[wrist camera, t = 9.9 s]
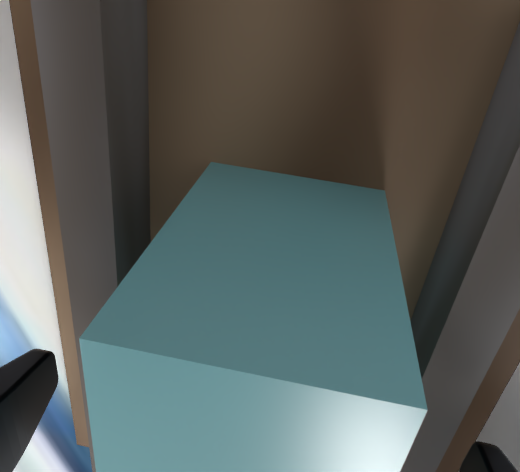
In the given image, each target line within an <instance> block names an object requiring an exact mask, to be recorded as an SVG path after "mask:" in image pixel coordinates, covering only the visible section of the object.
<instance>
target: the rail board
mask: <svg viewBox="0 0 520 472" xmlns="http://www.w3.org/2000/svg"><path fill="white" fill-rule="evenodd" d="M9 3H10V9H11V16H12V22H13V29H14V35H15V42H16V48H17V55H18V61H19V68H20V75H21V81H22V88H23V94H24V101H25V107H26V114H27V120H28V127H29V133H30V140H31V146H32V153H33V159H34V166H35V172H36V179H37V186H38V192H39V199H40V205H41V212H42V218H43V225H44V231H45V238H46V244H47V251H48V257H49V264H50V270H51V277H52V283H53V290H54V297H55V303H56V310H57V316H58V323H59V329H60V336H61V342H62V349H63V355H64V362H65V368H66V375H67V381H68V388H69V394H70V401H71V408H72V414H73V421H74V427H75V434H76V440H77V445H82V446H86V447H89V448H90V456H91V464H92V471H93V472H96V468H95V460H94V452H93V444H92V436H91V428H90V420H89V413H88V405H87V397H86V389H85V381H84V373H83V365H82V357H81V350H80V342H79V338H80V337H81V335H82V334H83V333H84V331H85V330H86V328H87V327H88V326H89V324H90V323H91V322H92V320H93V319H94V318H95V316H96V315H97V314H98V312H99V311H100V310H101V308H102V307H103V306H104V304H105V303H106V302H107V300H108V299H109V298H110V296H111V295H112V294H113V292H114V291H115V290H116V288H117V287H118V286H119V284H120V283H121V282H122V280H123V279H124V278H125V276H126V275H127V274H128V272H129V271H130V270H131V268H132V267H133V266H134V264H135V263H136V262H137V260H138V259H139V258H140V256H141V255H142V254H143V252H144V251H145V250H146V248H147V247H148V246H149V244H150V243H151V242H152V240H153V239H154V238H155V236H156V235H157V234H158V232H159V231H160V230H161V228H162V227H163V225H164V224H165V223H166V221H167V220H168V219H169V217H170V216H171V215H172V213H173V212H174V211H175V209H176V208H177V207H178V205H179V204H180V203H181V201H182V200H183V199H184V197H185V196H186V195H187V193H188V192H189V191H190V189H191V188H192V187H193V185H194V184H195V183H196V181H197V180H198V179H199V177H200V176H201V175H202V173H203V172H204V171H205V169H206V168H207V167H208V165H209V164H210V163H211V162H215V163H221V164H227V165H233V166H239V167H245V168H251V169H257V170H263V171H269V172H275V173H281V174H287V175H294V176H300V177H306V178H312V179H318V180H324V181H330V182H336V183H342V184H348V185H354V186H360V187H366V188H372V189H378V190H384V191H385V194H386V199H387V204H388V209H389V214H390V219H391V225H392V230H393V235H394V240H395V245H396V250H397V255H398V260H399V266H400V271H401V276H402V281H403V286H404V291H405V296H406V302H407V307H408V312H409V317H410V322H411V327H412V332H413V338H414V343H415V348H416V353H417V358H418V363H419V368H420V374H421V379H422V384H423V389H424V394H425V399H426V404H427V413H426V415H425V417H424V419H423V422H422V424H421V426H420V428H419V430H418V433H417V435H416V437H415V439H414V442H413V444H412V446H411V448H410V451H409V453H408V455H407V457H406V459H405V462H404V464H403V466H402V468H401V471H400V472H458V471H459V469H460V467H461V464H462V462H463V460H464V458H465V457H466V455H467V453H468V451H469V449H470V448H471V446H472V444H473V443H475V441H476V439H477V437H478V435H479V434H480V432H481V430H482V428H483V426H484V425H485V423H486V421H487V419H488V418H489V416H490V414H491V412H492V410H493V409H494V407H495V405H496V403H497V401H498V400H499V398H500V396H501V394H502V393H503V391H504V389H505V387H506V385H507V384H508V382H509V380H510V378H511V376H512V375H513V373H514V371H515V369H516V368H517V366H518V364H519V362H520V0H9Z"/></svg>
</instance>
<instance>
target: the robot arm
mask: <svg viewBox="0 0 520 472" xmlns="http://www.w3.org/2000/svg"><path fill="white" fill-rule="evenodd" d="M57 384H58V372H57V366H56V360H55V355H54V354H53V353H52V352H51V351H46V350H42V349H33V350H30V351H29V352H27V353H25V354H23V355H21V356H20V357H18V358H16V359H14V360H12V361H11V362H9V363H7V364H5V365H4V366H2V367H0V472H12V471H13V470H14V468H15V467H16V465H17V463H18V462H19V460H20V458H21V457H22V455H23V453H24V451H25V449H26V447H27V446H28V444H29V442H30V440H31V438H32V436H33V434H34V432H35V430H36V428H37V426H38V424H39V422H40V420H41V418H42V416H43V414H44V412H45V410H46V408H47V406H48V403H49V401H50V399H51V397H52V395H53V393H54V391H55V389H56V387H57ZM460 472H518V471H517V470H516V468H515V467H514V466H513V465H512V463H511V462H510V461H509V460H508V458H507V457H506V456H505V455H504V453H503V452H502V451H501V450H500V449H499V448H498V447H497V446H495V445H492V444H488V443H483V442H475V443H473V444H472V446H471V448H470V449H469V451H468V453H467V455H466V457H465V458H464V460H463V462H462V464H461V467H460Z"/></svg>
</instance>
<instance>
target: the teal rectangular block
mask: <svg viewBox="0 0 520 472" xmlns="http://www.w3.org/2000/svg"><path fill="white" fill-rule="evenodd" d="M79 342H80V350H81V357H82V365H83V373H84V381H85V389H86V397H87V405H88V413H89V420H90V428H91V436H92V444H93V452H94V460H95V468H96V472H400V471H401V468H402V466H403V464H404V462H405V459H406V457H407V455H408V453H409V451H410V448H411V446H412V444H413V442H414V439H415V437H416V435H417V433H418V430H419V428H420V426H421V424H422V422H423V419H424V417H425V415H426V413H427V404H426V399H425V394H424V389H423V384H422V379H421V374H420V368H419V363H418V358H417V353H416V348H415V343H414V338H413V332H412V327H411V322H410V317H409V312H408V307H407V302H406V296H405V291H404V286H403V281H402V276H401V271H400V266H399V260H398V255H397V250H396V245H395V240H394V235H393V230H392V225H391V219H390V214H389V209H388V204H387V199H386V194H385V191H384V190H378V189H372V188H366V187H360V186H354V185H348V184H342V183H336V182H330V181H324V180H318V179H312V178H306V177H300V176H294V175H287V174H281V173H275V172H269V171H263V170H257V169H251V168H245V167H239V166H233V165H227V164H221V163H215V162H211V163H210V164H209V165H208V167H207V168H206V169H205V171H204V172H203V173H202V175H201V176H200V177H199V179H198V180H197V181H196V183H195V184H194V185H193V187H192V188H191V189H190V191H189V192H188V193H187V195H186V196H185V197H184V199H183V200H182V201H181V203H180V204H179V205H178V207H177V208H176V209H175V211H174V212H173V213H172V215H171V216H170V217H169V219H168V220H167V221H166V223H165V224H164V225H163V227H162V228H161V230H160V231H159V232H158V234H157V235H156V236H155V238H154V239H153V240H152V242H151V243H150V244H149V246H148V247H147V248H146V250H145V251H144V252H143V254H142V255H141V256H140V258H139V259H138V260H137V262H136V263H135V264H134V266H133V267H132V268H131V270H130V271H129V272H128V274H127V275H126V276H125V278H124V279H123V280H122V282H121V283H120V284H119V286H118V287H117V288H116V290H115V291H114V292H113V294H112V295H111V296H110V298H109V299H108V300H107V302H106V303H105V304H104V306H103V307H102V308H101V310H100V311H99V312H98V314H97V315H96V316H95V318H94V319H93V320H92V322H91V323H90V324H89V326H88V327H87V328H86V330H85V331H84V333H83V334H82V335H81V337H80V338H79Z"/></svg>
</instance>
